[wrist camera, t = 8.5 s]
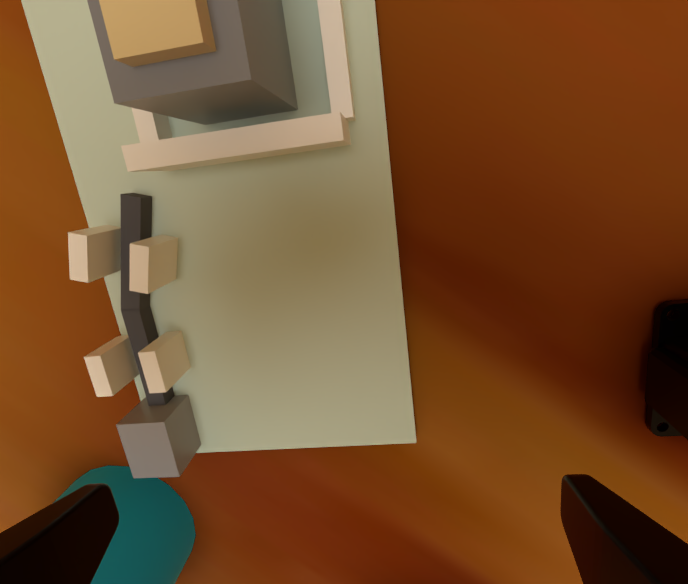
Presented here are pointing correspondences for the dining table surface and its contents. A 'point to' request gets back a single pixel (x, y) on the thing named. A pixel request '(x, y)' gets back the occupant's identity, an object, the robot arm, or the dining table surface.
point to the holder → (263, 138)
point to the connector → (196, 57)
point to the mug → (142, 529)
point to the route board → (259, 246)
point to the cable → (134, 303)
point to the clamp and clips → (140, 353)
